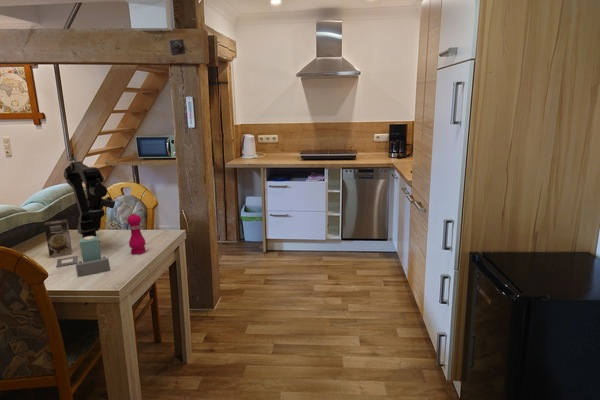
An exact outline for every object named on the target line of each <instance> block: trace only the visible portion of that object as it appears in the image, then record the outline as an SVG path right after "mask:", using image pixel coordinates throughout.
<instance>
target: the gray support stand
mask: <svg viewBox="0 0 600 400" xmlns="http://www.w3.org/2000/svg"><path fill="white" fill-rule="evenodd" d="M110 267H111V265H110V261H109V257H106V256H101V259H99V260H93V261H88V262H83V260H79V261H78V263H77V264H75V268H76V269H75V270H76V275H77V278H82V277H86V276H90V275H96V274H100V273H105V272H110V271H111V268H110Z"/></svg>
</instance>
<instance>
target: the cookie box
mask: <svg viewBox="0 0 600 400" xmlns="http://www.w3.org/2000/svg"><path fill="white" fill-rule="evenodd" d="M43 224H44V232H45V237H46V243H47V248H48V255H49V258H50V259H53V258H57V257H62V256H69V255H73V254H72V253H73V248H72V247H73V246H72V241H71V237H70V229H69V223H68V218H67V219H59V220H58V219H57V220H51V221H45V222H44V223H43Z"/></svg>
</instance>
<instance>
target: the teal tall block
mask: <svg viewBox="0 0 600 400" xmlns="http://www.w3.org/2000/svg"><path fill="white" fill-rule="evenodd" d="M99 241H100V240H99V236H98V235H97V236H87V237H84V238H82V237H81V238H79V245H80V253H81V257H82V263H83V262H88V261H93V260H99V259H102V254H101V253H102V252H101V246H100V242H99Z"/></svg>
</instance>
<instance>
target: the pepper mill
mask: <svg viewBox="0 0 600 400" xmlns="http://www.w3.org/2000/svg"><path fill="white" fill-rule="evenodd" d="M130 214H131V215H129V216H128V217H127V221H126V222H127V223H128V225H129V226H128V227H129V230H130V233H131V234H130V238H129V242H128V246H129V248H130V253H131V255H133V256H134V255H135V256H136V255H141V254H142V255H143V254H144V253H146V239H145V237H144V236H143V234H142V232H141V228H142V224H141V222H142V217H141V216H140V215H138V214H136V212H135V211H132V212H131V213H130Z"/></svg>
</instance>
